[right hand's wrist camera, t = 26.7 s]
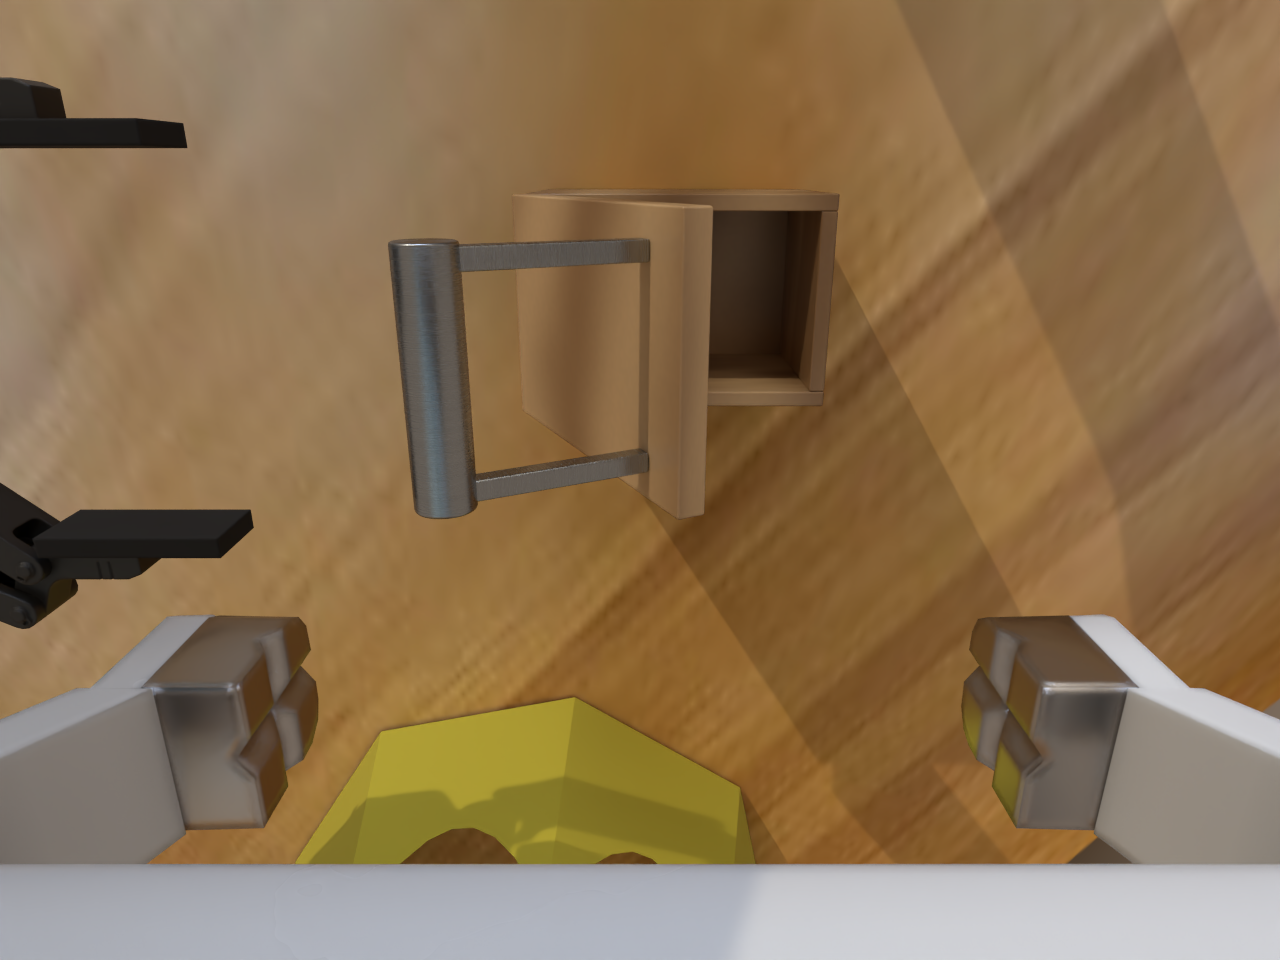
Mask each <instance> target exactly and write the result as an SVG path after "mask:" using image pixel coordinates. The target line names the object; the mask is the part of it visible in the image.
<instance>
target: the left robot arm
mask: <svg viewBox="0 0 1280 960" xmlns="http://www.w3.org/2000/svg"><path fill="white" fill-rule="evenodd" d="M0 148H187V143H186V137H185V131H184V126H183V123H176V122H166V121H157V120H147V119H138V118H66V114H65V110H64V105H63V101H62V96H61V91H60V89H58V88H55V87H53V86H50V85H48V84H46V83H43V82H37V81H30V80H24V79H17V78H0ZM253 528H254V527H253V521H252V515H251V510H79V511H78V512H76V513H74V514H73V515H71V516H69V517H68V518H66V519H64V520H63V521H61V522H60V521H58V520H57V519H55V518H54V517H52V516H51V515H49V514H48V513H46V512H45V511H43V510H41V509H40V508H38V507H37V506H35V505H34V504H32V503H31V502H29V501H28V500H26V499H25V498H23V497H21V496H20V495H18V494H17V493H15V492H14V491H12V490H11V489H9V488H8V487H6V486H5V485H3V484H1V483H0V621H1V622H4V623H6V624H9V625H11V626H14V627H17V628H21V629H27V628H30V627H32V626H34V625H35V624H36V623H38V622H39V621H40V620H42V619H43V618H45V617H46V616H47V615H49V614H50V613H51V612H53V611H54V610H55V609H57V608H58V607H59V606H61V605H62V604H63V603H65V602H66V601H67V600H69V599H70V598H71V597H73V596H74V595H75V594H76V592H77V591H78V584H77V582H76V580H75V579H131V578H133V577H136V576H138V575H141V574H142V573H143V572H145V571H146V570H147V569H148V568H150V567H151V566H152V565H153V564H155V563H156V562H157V561H158V560H160V559H161V558H221V557H222V556H223V555H225V554H226V553H227V552H228V551H229V550H230V549H231V548H232V547H233V546H234V545H235V544H237V543H238V542H239V541H240V540H241V539H242V538H243V537H244V536H245V535H246V534H247V533H248V532H250V531H251V530H252V529H253Z"/></svg>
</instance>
